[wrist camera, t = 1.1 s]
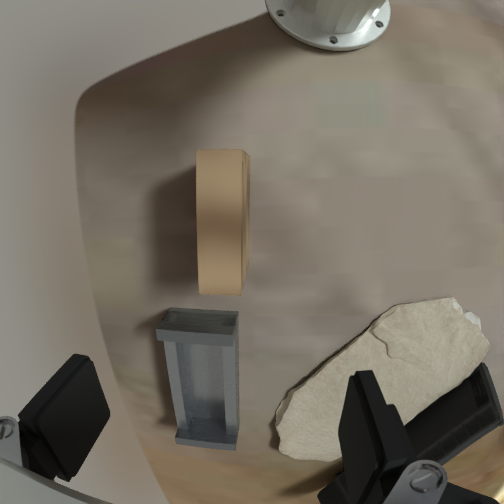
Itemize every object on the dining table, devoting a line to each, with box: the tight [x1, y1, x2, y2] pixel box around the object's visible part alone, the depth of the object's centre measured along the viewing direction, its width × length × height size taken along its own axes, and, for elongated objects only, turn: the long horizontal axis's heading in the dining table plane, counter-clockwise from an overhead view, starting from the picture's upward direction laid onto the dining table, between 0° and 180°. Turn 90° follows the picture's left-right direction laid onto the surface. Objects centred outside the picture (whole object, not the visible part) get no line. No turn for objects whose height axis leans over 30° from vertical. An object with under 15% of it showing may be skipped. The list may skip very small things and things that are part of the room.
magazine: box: [317, 362, 504, 504], centre depth 30 cm, size 17×3×30 cm
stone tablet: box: [275, 297, 489, 462], centre depth 32 cm, size 16×30×2 cm, turn 133°
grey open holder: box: [156, 308, 239, 451], centre depth 31 cm, size 16×7×5 cm, turn 179°
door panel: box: [196, 149, 250, 296], centre depth 25 cm, size 10×3×8 cm, turn 179°
